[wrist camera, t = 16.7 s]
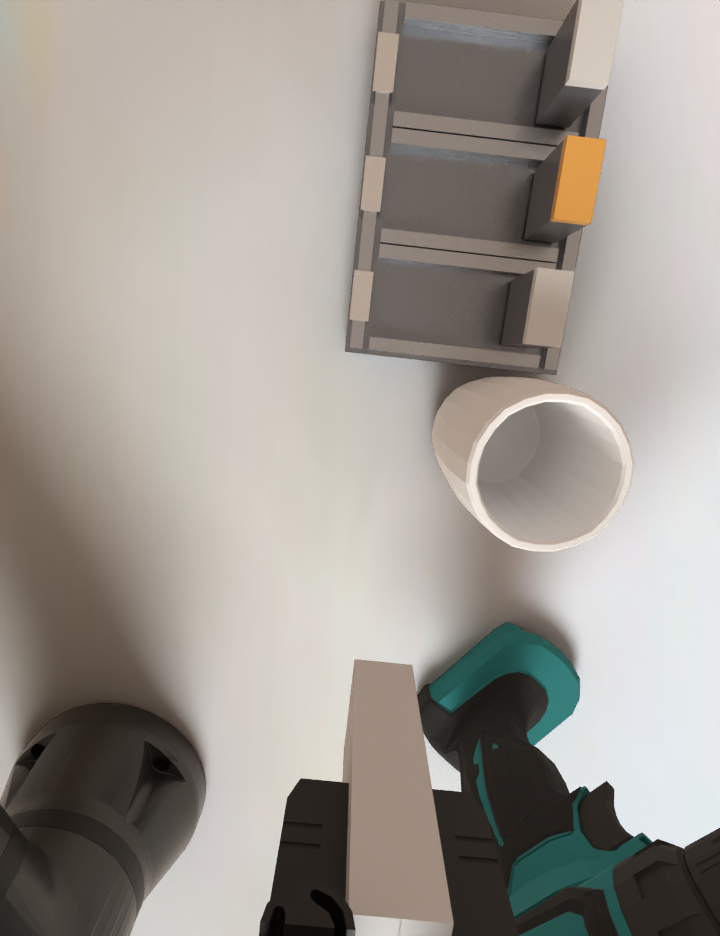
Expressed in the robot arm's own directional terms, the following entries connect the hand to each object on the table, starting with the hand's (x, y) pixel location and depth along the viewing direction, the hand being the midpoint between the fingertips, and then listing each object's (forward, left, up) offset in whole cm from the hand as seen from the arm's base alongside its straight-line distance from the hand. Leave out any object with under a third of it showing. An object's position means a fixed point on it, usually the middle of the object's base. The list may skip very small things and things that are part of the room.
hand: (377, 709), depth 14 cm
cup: (+8, +5, -27) cm, 28 cm away
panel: (+4, +19, -26) cm, 33 cm away
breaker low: (+9, +12, -24) cm, 28 cm away
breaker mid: (+9, +19, -24) cm, 32 cm away
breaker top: (+9, +26, -24) cm, 36 cm away
